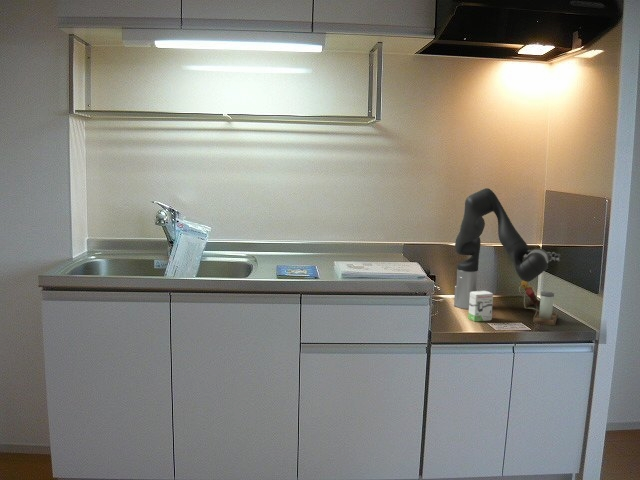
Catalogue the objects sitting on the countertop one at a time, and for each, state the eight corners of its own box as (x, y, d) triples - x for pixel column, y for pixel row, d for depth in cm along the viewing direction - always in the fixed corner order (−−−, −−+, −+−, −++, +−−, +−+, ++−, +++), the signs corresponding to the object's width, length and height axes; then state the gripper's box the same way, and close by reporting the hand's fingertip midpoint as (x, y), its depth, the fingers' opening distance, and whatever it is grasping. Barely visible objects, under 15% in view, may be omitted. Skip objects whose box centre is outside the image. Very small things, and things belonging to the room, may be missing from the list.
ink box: (474, 321, 224) (476, 294, 223) (467, 318, 229) (469, 291, 227) (492, 320, 227) (493, 293, 225) (485, 316, 232) (486, 290, 230)
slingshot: (548, 305, 252) (559, 303, 237) (533, 320, 252) (543, 320, 237) (521, 279, 255) (530, 277, 240) (506, 295, 254) (514, 293, 240)
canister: (537, 318, 226) (540, 293, 224) (539, 315, 231) (541, 290, 229) (551, 320, 224) (553, 295, 222) (552, 317, 228) (554, 292, 227)
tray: (532, 322, 225) (533, 317, 225) (536, 314, 236) (536, 310, 236) (554, 325, 221) (555, 320, 221) (557, 317, 232) (557, 313, 232)
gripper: (558, 251, 199) (562, 245, 213) (518, 248, 205) (524, 242, 219) (557, 271, 200) (560, 264, 214) (516, 267, 206) (522, 260, 220)
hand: (542, 253), depth 217 cm, fingers open, 8 cm apart
